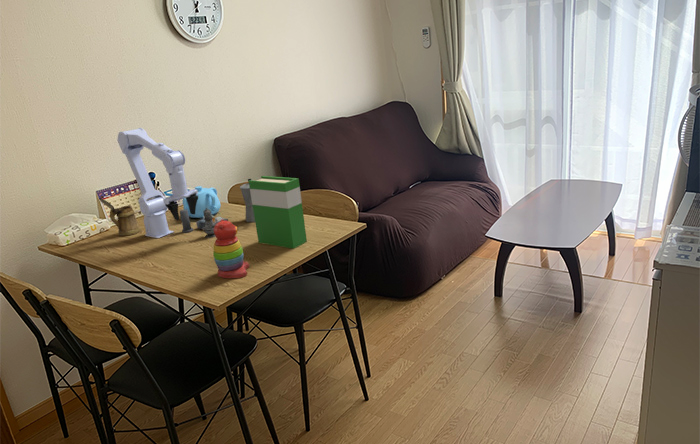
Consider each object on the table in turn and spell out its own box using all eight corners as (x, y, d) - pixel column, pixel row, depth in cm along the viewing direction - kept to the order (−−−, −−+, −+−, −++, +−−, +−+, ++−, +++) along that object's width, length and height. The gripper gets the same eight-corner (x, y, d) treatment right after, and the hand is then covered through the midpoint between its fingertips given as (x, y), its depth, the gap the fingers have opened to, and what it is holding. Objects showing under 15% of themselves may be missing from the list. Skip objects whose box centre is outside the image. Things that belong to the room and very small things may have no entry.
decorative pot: (218, 218, 232) (213, 189, 228) (182, 222, 231) (176, 193, 227) (224, 208, 247) (219, 180, 243) (190, 212, 247) (184, 184, 242)
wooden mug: (105, 237, 221) (94, 197, 215) (135, 227, 230) (125, 188, 225) (114, 240, 215) (103, 199, 210) (144, 230, 225) (135, 190, 219)
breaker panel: (197, 228, 220) (195, 218, 219) (212, 222, 226) (210, 212, 225) (214, 231, 214) (212, 221, 212) (229, 225, 220) (227, 215, 218)
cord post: (180, 232, 218) (175, 211, 215) (188, 228, 221) (184, 208, 218) (186, 233, 215) (182, 212, 212) (195, 230, 218) (191, 209, 216)
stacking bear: (246, 277, 165) (237, 224, 159) (214, 281, 165) (204, 228, 159) (250, 264, 175) (241, 214, 170) (220, 267, 175) (210, 217, 169)
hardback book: (258, 242, 195) (248, 180, 188) (271, 236, 201) (262, 175, 194) (293, 248, 185) (284, 183, 178) (306, 241, 191) (298, 178, 184)
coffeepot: (239, 219, 228) (232, 179, 222) (258, 213, 233) (252, 174, 227) (255, 226, 216) (248, 184, 210) (275, 220, 221) (269, 179, 215)
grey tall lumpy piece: (205, 234, 212) (200, 206, 208) (220, 232, 212) (214, 204, 208) (202, 239, 206) (197, 210, 202) (217, 237, 206) (212, 208, 203)
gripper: (168, 188, 191) (175, 223, 195) (200, 179, 202) (206, 212, 206) (157, 187, 195) (164, 221, 200) (188, 178, 206) (195, 210, 210)
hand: (185, 216), depth 203 cm, fingers open, 7 cm apart
